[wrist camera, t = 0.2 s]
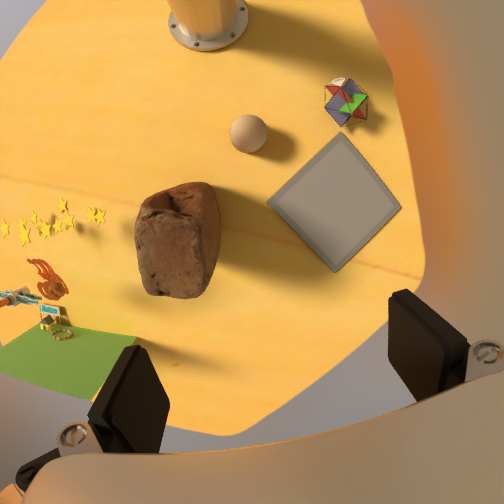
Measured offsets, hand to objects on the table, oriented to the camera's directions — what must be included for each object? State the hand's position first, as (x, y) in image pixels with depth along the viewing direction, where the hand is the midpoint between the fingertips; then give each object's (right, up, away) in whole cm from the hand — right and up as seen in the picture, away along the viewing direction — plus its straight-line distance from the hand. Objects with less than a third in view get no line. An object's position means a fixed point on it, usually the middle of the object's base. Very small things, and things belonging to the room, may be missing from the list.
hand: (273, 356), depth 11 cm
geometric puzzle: (+13, +26, +32) cm, 43 cm away
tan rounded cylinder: (-1, +21, +32) cm, 38 cm away
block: (-9, +9, +35) cm, 38 cm away
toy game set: (-31, +1, +37) cm, 49 cm away
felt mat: (+13, +11, +36) cm, 39 cm away
